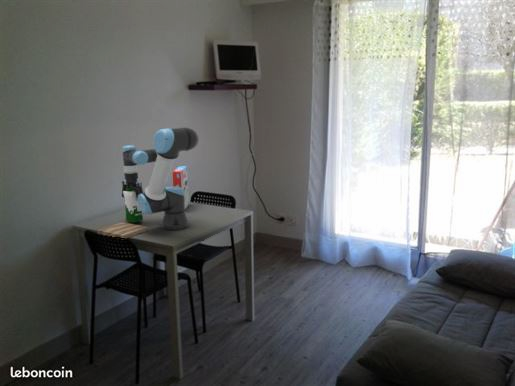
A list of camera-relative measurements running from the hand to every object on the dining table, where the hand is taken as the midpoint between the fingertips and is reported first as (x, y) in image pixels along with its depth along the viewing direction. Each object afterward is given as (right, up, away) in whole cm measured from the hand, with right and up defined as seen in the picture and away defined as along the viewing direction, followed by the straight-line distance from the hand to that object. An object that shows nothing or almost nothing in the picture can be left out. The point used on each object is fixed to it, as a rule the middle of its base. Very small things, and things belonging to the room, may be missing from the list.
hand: (133, 209), depth 265 cm
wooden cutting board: (-1, -12, -17) cm, 21 cm away
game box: (+23, -1, +33) cm, 40 cm away
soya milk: (0, -7, +1) cm, 7 cm away
